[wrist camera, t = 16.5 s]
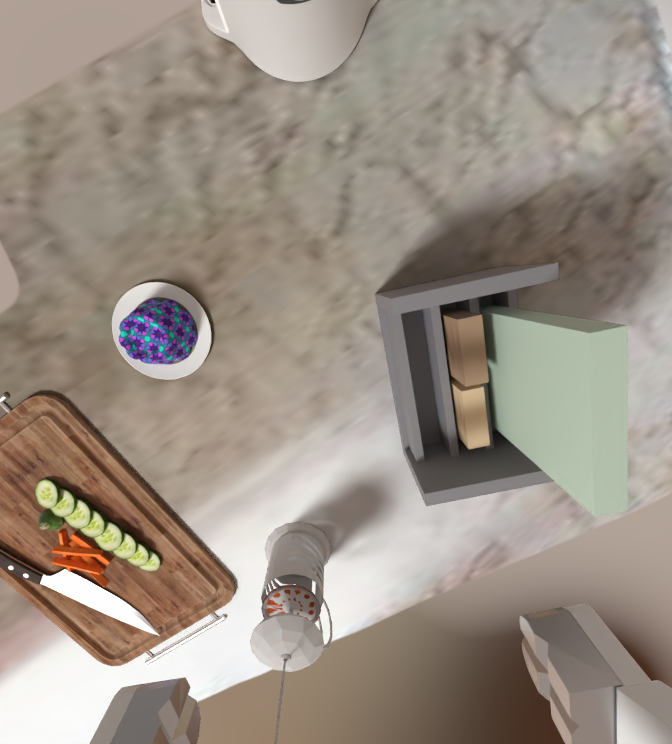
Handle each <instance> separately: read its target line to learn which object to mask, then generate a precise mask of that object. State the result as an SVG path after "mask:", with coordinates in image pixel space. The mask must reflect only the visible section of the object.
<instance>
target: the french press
mask: <svg viewBox="0 0 672 744" xmlns="http://www.w3.org/2000/svg"><path fill="white" fill-rule="evenodd" d="M265 552H266V557H267V560H268V561H269V563H268V564H269V565H268V568H267V573H266V578H265V582H264V587H263V592H262V597H261V599H262V603H263V605H262V613H263V617H264V620H263V621H262V622H261V623H260V624H259V625H258V626H257V627H256V628H255V629H254V630H253V633H252V636H251V639H250V644H251V648H252V652H253V654H254V655H255V656H256V657H257V659H258V660H259V661H260V662H262V663H263V664H265V665H267V666H269V667H270V668H272V669H274V670H282V671H283V674H282V683H281V691H280V699H279V708H278V716H277V725H276V734H275V742H274V744H277V736H278V728H279V718H280V710H281V702H282V693H283V684H284V676H285V671H289V672H292V671H297V670H300V669H303V668H305V667H307V666H309V665H311V664H312V663H314V661H316V660H317V658H319V656H320V655H321V652H322V650H324V649H326V648H327V647H329V644H330V642H331V640H332V621H331V617H330V612H329V609H328V606H327V604H326V602H325V600H324V598H323V580H324V566H325V565H326V564H327V563H328V560H329V557H330V554H331V549H330V542H329V540H328V539H327V537H326V536H325V534H324V533H323V532H322V531H321V530H319V529H318V528H316V527H315V526H313V525H310V524H306V523H301V522H297V523H288V524H285V525H283V526H281V527H279V528H277V529H275V530H274V531H273V533H272V534H271V535H270V536H269V537H268V539H267V542H266V546H265ZM275 578H276V579H277V580H278V581H279V582H280V583H282V584H288V585H285V586H280V585H279V584H277V583H276V582H275V580H274V579H275ZM271 580H272V581H273V584H274V586H275V587H276V589H273V586H272V584H271ZM312 580H313V581H315V582H316V592H315V595H314V594H313V592H312ZM268 583H269V585H270V587H271V590H272V591H271V592H270V591H269V587H268ZM292 584H296V585H292ZM265 587H266V589H267V592H268V595H266V589H265ZM322 603H324V605H325V607H326V609H327V612H328V615H329V621H330V635H331V636H330V639H329V641H328V643H327V645H326V646H324V642H323V635H322V633H323V631H322V626H321V621H320V617H319V615H320V612H321V609H320V608H321V606H322ZM317 620H319V625H320V630H319V629H318V628H317V626H316V625H315V624H314V623H315V622H316V621H317Z"/></svg>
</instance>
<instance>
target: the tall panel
mask: <svg viewBox="0 0 672 744" xmlns="http://www.w3.org/2000/svg"><path fill="white" fill-rule="evenodd" d="M479 311H480V314H482V319H483V329H484V339H485V348H486V358H487V367H488V377H489V382H487V387H488V397H489V406H490V416H491V425H492V426H493V427H494V428H496V429H497V430H498V431H499V432H500V433H501V434H502V435H503V436H505V437H506V438H507V439H508V440H509V441H510V442H511V443H512V444H513V445H515V446H516V447H517V448H518V449H519V450H520V451H521V452H522V453H524V454H525V455H526V456H527V457H528V458H529V459H530V460H531V461H533V462H534V463H535V464H536V465H537V466H538V467H539V468H540V469H542V470H543V471H544V472H545V473H546V474H547V475H548V476H549V477H550V478H552V479H553V480H554V481H555V482H556V483H557V484H558V485H559V486H561V487H562V488H563V489H564V490H565V491H566V492H567V493H568V494H570V495H571V496H572V497H573V498H574V499H575V500H576V501H577V502H578V503H580V504H581V505H582V506H583V507H584V508H585V509H586V510H587V511H589V512H590V513H591V514H592V515H593V516H594V517H598V516H603V515H608V514H613V513H618V512H623V511H627V438H628V325H622V324H615V323H609V322H602V321H596V320H589V319H583V318H576V317H569V316H563V315H556V314H550V313H543V312H536V311H530V310H523V309H517V308H510V307H504V306H497V305H490V304H487V305H483V306H479Z"/></svg>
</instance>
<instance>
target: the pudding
mask: <svg viewBox="0 0 672 744" xmlns="http://www.w3.org/2000/svg"><path fill="white" fill-rule="evenodd" d="M154 297H164V298H169V299H172V300H165V301H163V302H160V301H158V300H156V299H151V300H148V301H146V302H145V303H143V304H142V305H140V306H139V307H138V308H136V307H137V306H138V305H139V304H140V303H142V302H143V301H145V300H147V299H150V298H154ZM173 300H174V301H176V302H178V303H180V304H181V305H183V306H184V307H185V308H186V309H187V310H188V311H189V312H190V314H191V315H192V316H193V318H194V320H195V322H196V326H197V330H198V340H197V333H196V332H195V330H194V329H193V324H194V321H193V318H192V316H191V315H190V314H189V313H188V312H187V311H183V310H181V309H180V307H179V305H178V304H177V303H176V302H174V301H173ZM135 308H136V309H135ZM134 309H135V310H134ZM112 332H113V337H114V340H115V343H116V345H117V348H118V349H119V351H120V353H121V354H122V356H123V357H124V358H125V359H126V361H127V362H128V363H129V364H130V365H132V366H133V367H134V368H135V369H137V370H138V371H140V372H141V373H143V374H146V375H148V376H150V377H154V378H158V379H166V380H167V379H177V378H181V377H184V376H187V375H189V374H191V373H192V372H194V371H195V370H196V369H198V368H199V367H200V366H201V365H202V363H203V362H204V360H205V359H206V357H207V355H208V352H209V350H210V345H211V328H210V323H209V320H208V317H207V315H206V313H205V311H204V309H203V308H202V307H201V305H200V304H199V303H198V301H197V300H196V299H195V298H194V297H192V296H191V295H190V294H189V293H187V292H186V291H185V290H183V289H181V288H179V287H177V286H174V285H171V284H168V283H162V282H148V283H144V284H140V285H138V286H136V287H133V288H132V289H130V290H129V291H128V292H126V293H125V294H124V295H123V296H122V297H121V299H120V300H119V302H118V303H117V305H116V307H115V310H114V313H113V318H112ZM196 341H197V345H196V347H195V349H194V351H193V352H192V354H191V355H190V356H189V354H190V347H191V346H193V345H195V344H196ZM188 356H189V357H188ZM187 357H188V358H187ZM185 358H187V359H185ZM183 359H185V360H184V361H182V362H180V363H177V364H173V365H163V364H171V363H173V362H174V361H175V360H183Z"/></svg>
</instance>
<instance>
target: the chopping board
mask: <svg viewBox="0 0 672 744" xmlns="http://www.w3.org/2000/svg"><path fill="white" fill-rule="evenodd" d="M9 398H10V397H9V396H8V395H7V394H6V393H4V394H3V395H1V396H0V406H1V407H2V408H3V409H4V410H5V411H6V412H7V413H8V414H6V415H5V416H4V417H2V418H1V419H0V577H1V578H2V579H3V580H4V581H5V582H7V583H8V584H9V585H10V586H11V587H12V588H14V589H15V590H16V591H17V592H18V593H19V594H21V595H22V596H23V597H24V598H25V599H26V600H28V601H29V602H30V603H31V604H32V605H33V606H35V607H36V608H37V609H38V610H39V611H40V612H42V613H43V614H44V615H45V616H46V617H47V618H49V619H50V620H51V621H52V622H53V623H54V624H56V625H57V626H58V627H59V628H60V629H61V630H63V631H64V632H65V633H66V634H67V635H68V636H70V637H71V638H72V639H73V640H74V641H75V642H76V643H78V644H79V645H80V646H81V647H82V648H83V649H85V650H86V651H87V652H88V653H89V654H90V655H92V656H93V657H94V658H95V659H96V660H98V661H99V662H101V663H103V664H106V665H110V666H120V665H123V664H126V663H128V662H130V661H131V660H133V659H135V658H136V657H138V656H140V655H142V654H143V653H145V654H146V655H147V656H148V657H149V658H148V659H146V661H145V663H146V665H148V664H150V663H151V662H153V661H155V660H157V659H158V658H160V657H162V656H163V655H165V654H167V653H169V652H170V651H172V650H174V649H176V648H177V647H179V646H181V645H182V644H184V643H186V642H188V641H189V640H191V639H193V638H194V637H196V636H198V635H200V634H201V633H203V632H205V631H206V630H208V629H210V628H212V627H213V626H215V625H217V624H218V623H220V622H222V621H224V620H225V619H226V616H225V615H224V614H223V615H222V616H220V617H217V616H216V615H215V614H214V613H213V612H215V611H216V610H218V609H220V608H221V607H223V606H225V605H226V604H227V603H228V602H230V601H231V600H232V597H233V595H234V592H235V582H234V581H233V579H232V577H231V576H230V575H229V574H228V573H227V572H226V571H225V570H224V568H223V567H222V566H221V565H220V564H219V563H218V562H217V561H216V560H215V559H214V558H213V557H212V556H211V555H210V554H209V553H208V552H207V550H206V549H205V548H204V547H203V546H202V545H201V544H200V543H199V542H198V541H197V540H196V539H195V538H194V537H193V536H192V535H191V534H190V532H189V531H188V530H187V529H186V528H185V527H184V526H183V525H182V524H181V523H180V522H179V521H178V520H177V519H176V518H175V517H174V515H173V514H172V513H171V512H170V511H169V510H168V509H167V508H166V507H165V506H164V505H163V504H162V503H161V502H160V501H159V500H158V499H157V497H156V496H155V495H154V494H153V493H152V492H151V491H150V490H149V489H148V488H147V487H146V486H145V485H144V484H143V483H142V482H141V480H140V479H139V478H138V477H137V476H136V475H135V474H134V473H133V472H132V471H131V470H130V469H129V468H128V467H127V466H126V465H125V464H124V462H123V461H122V460H121V459H120V458H119V457H118V456H117V455H116V454H115V453H114V452H113V451H112V450H111V449H110V448H109V447H108V446H107V444H106V443H105V442H104V441H103V440H102V439H101V438H100V437H99V436H98V435H97V434H96V433H95V432H94V431H93V430H92V429H91V427H90V426H89V425H88V424H87V423H86V422H85V421H84V420H83V419H82V418H81V417H80V416H79V415H78V414H77V413H76V412H75V411H74V409H73V408H72V407H71V406H70V405H69V404H68V403H66V402H65V401H64V400H62V399H61V398H60V397H57V396H54V395H51V394H38V395H36V396H33V397H31V398H29V399H26V400H25V401H23V402H22V403H21V404H19V405H18V406H17V407H16V408H14V409H13V410H11V409H10V408H9V407H8V406H7V405H6V404H5V403H4V402H5V401H6V400H7V399H9ZM208 615H210V616H211V617H212V618H213V619H214V620H213V621H211V622H210V623H208V624H206V625H204V626H203V627H201V628H199V629H198V630H196V631H194V632H192V633H191V634H189V635H187V636H186V637H184V638H182V639H180V640H179V641H177V642H175V643H174V644H172V645H170V646H169V647H167V648H165V649H163V650H162V651H160V652H158V653H157V654H155V655H152V654H151V653H150V652H149V651H148V650H150V649H152V648H153V647H155V646H157V645H159V644H160V643H162V642H164V641H165V640H167V639H169V638H170V637H172V636H174V635H176V634H177V633H179V632H181V631H182V630H184V629H186V628H187V627H189V626H191V625H193V624H194V623H196V622H198V621H199V620H201V619H203V618H204V617H206V616H208Z"/></svg>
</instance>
